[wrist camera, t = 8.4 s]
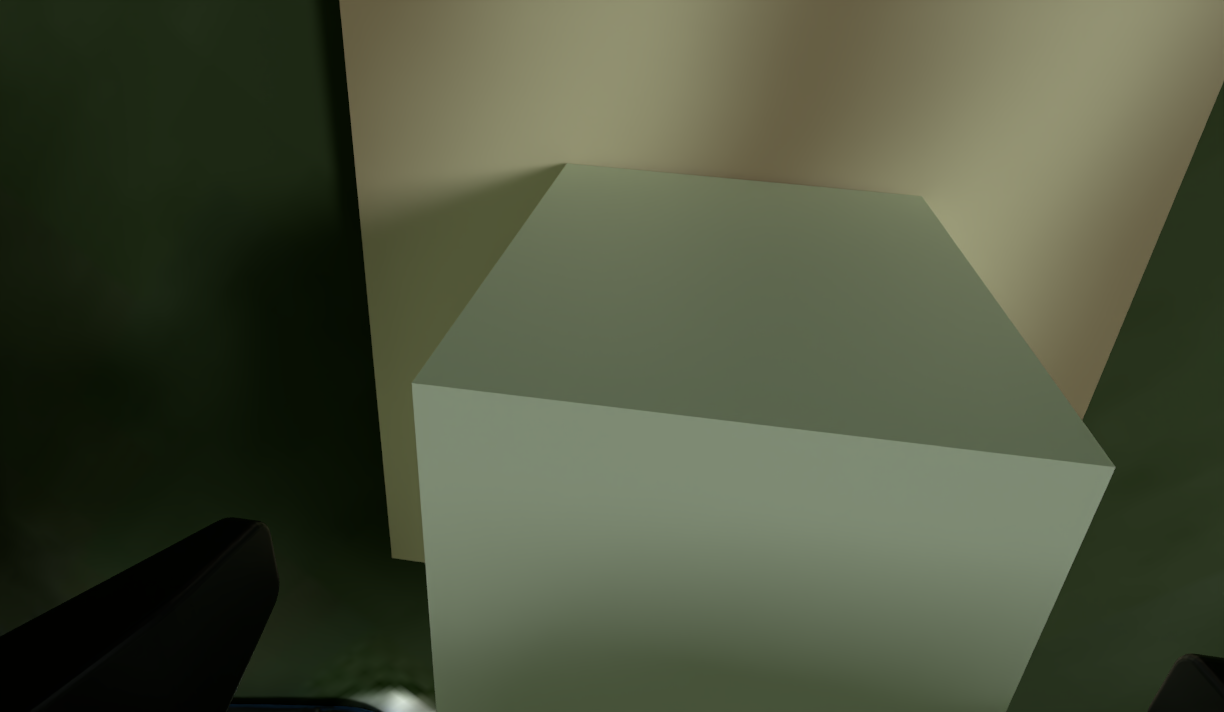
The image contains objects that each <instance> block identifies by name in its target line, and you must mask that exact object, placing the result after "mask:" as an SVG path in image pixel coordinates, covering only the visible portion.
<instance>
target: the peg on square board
mask: <svg viewBox="0 0 1224 712" xmlns="http://www.w3.org/2000/svg"><path fill="white" fill-rule="evenodd" d="M339 1H340V12H341V22H342V33H343V44H344V54H345V65H346V75H347V86H348V97H349V107H350V118H351V128H352V139H353V149H354V160H355V171H356V181H357V192H358V202H359V213H360V224H361V234H362V245H363V255H364V266H365V277H366V287H367V298H368V308H369V319H370V330H371V340H372V351H373V361H374V372H375V382H376V393H377V404H378V414H379V425H380V435H381V446H382V457H383V467H384V478H385V488H386V499H387V510H388V520H389V531H390V541H391V552H392V558H397V559H403V560H410V561H417V562H424V563H425V552H424V539H423V526H422V513H421V500H420V486H419V473H418V460H417V447H416V434H415V421H414V407H413V394H412V382H413V380H414V379H415V378H416V376H417V375H418V373H419V372H420V371H421V369H422V368H423V366H424V365H425V363H426V362H427V361H428V359H429V358H430V356H431V355H432V354H433V352H434V351H435V349H436V348H437V346H438V345H439V344H440V342H441V341H442V339H443V338H444V337H445V335H446V334H447V332H448V331H449V329H450V328H451V327H452V325H453V324H454V322H455V321H456V320H457V318H458V317H459V315H460V314H461V313H462V311H463V310H464V308H465V307H466V305H467V304H468V303H469V301H470V300H471V298H472V297H473V296H474V294H475V293H476V291H477V290H478V288H479V287H480V286H481V284H482V283H483V281H484V280H485V279H486V277H487V276H488V274H489V273H490V271H491V270H492V269H493V267H494V266H495V264H496V263H497V262H498V260H499V259H500V257H501V256H502V254H503V253H504V252H505V250H506V249H507V247H508V246H509V245H510V243H511V242H512V240H513V239H514V237H515V236H516V235H517V233H518V232H519V230H520V229H521V228H522V226H523V225H524V223H525V222H526V221H527V219H528V218H529V216H530V215H531V213H532V212H533V211H534V209H535V208H536V206H537V205H538V204H539V202H540V201H541V199H542V198H543V196H544V195H545V194H546V192H547V191H548V189H549V188H550V187H551V185H552V184H553V182H554V181H555V179H556V178H557V177H558V175H559V174H560V172H561V171H562V170H563V168H564V167H565V165H566V164H567V163H569V164H580V165H590V166H601V167H612V168H623V169H634V170H644V171H655V172H666V173H677V174H688V175H699V176H709V177H720V178H731V179H742V180H753V181H763V182H774V183H785V184H796V185H807V186H817V187H828V188H839V189H850V190H861V191H872V192H882V193H893V194H904V195H915V196H922V197H923V199H924V200H925V201H926V203H927V204H928V206H929V207H930V208H931V210H932V211H933V213H934V214H935V215H936V217H937V218H938V220H939V221H940V222H941V224H942V225H943V227H944V228H945V229H946V231H947V232H948V234H949V235H950V236H951V238H952V239H953V241H954V242H955V243H956V245H957V246H958V248H959V249H960V250H961V252H962V253H963V255H964V256H965V257H966V259H967V260H968V262H969V263H970V264H971V266H972V267H973V269H974V270H975V271H976V273H977V274H978V276H979V277H980V278H981V280H982V281H983V283H984V284H985V285H986V287H987V288H988V290H989V291H990V292H991V294H992V295H993V297H994V298H995V299H996V301H997V302H998V304H999V305H1000V306H1001V308H1002V309H1003V311H1004V312H1005V313H1006V315H1007V316H1008V318H1009V319H1010V320H1011V322H1012V323H1013V325H1014V326H1015V327H1016V329H1017V330H1018V332H1019V333H1020V334H1021V336H1022V337H1023V339H1024V340H1025V341H1026V343H1027V344H1028V346H1029V347H1030V348H1031V350H1032V351H1033V353H1034V354H1035V355H1036V357H1037V358H1038V360H1039V361H1040V362H1041V364H1042V365H1043V367H1044V368H1045V369H1046V371H1047V372H1048V374H1049V375H1050V376H1051V378H1052V379H1053V381H1054V382H1055V383H1056V385H1057V386H1058V388H1059V389H1060V390H1061V392H1062V393H1063V395H1064V396H1065V397H1066V399H1067V400H1068V402H1069V403H1070V404H1071V406H1072V407H1073V409H1074V410H1075V411H1076V413H1077V414H1078V416H1079V417H1080V418H1081V420H1082V419H1083V417H1084V415H1085V412H1086V410H1087V407H1088V405H1089V403H1090V400H1091V398H1092V395H1093V393H1094V391H1095V388H1096V386H1097V383H1098V381H1099V379H1100V376H1101V374H1102V371H1103V369H1104V367H1105V364H1106V362H1107V359H1108V357H1109V355H1110V352H1111V350H1112V347H1113V345H1114V343H1115V340H1116V338H1117V335H1118V333H1119V331H1120V328H1121V326H1122V323H1123V321H1124V319H1125V316H1126V314H1127V311H1128V309H1129V307H1130V304H1131V302H1132V299H1133V297H1134V295H1135V292H1136V290H1137V287H1138V285H1139V283H1140V280H1141V278H1142V275H1143V273H1144V271H1145V268H1146V266H1147V263H1148V261H1149V259H1150V256H1151V254H1152V251H1153V249H1154V247H1155V244H1156V242H1157V240H1158V237H1159V235H1160V232H1161V230H1162V228H1163V225H1164V223H1165V220H1166V218H1167V216H1168V213H1169V211H1170V208H1171V206H1172V204H1173V201H1174V199H1175V196H1176V194H1177V192H1178V189H1179V187H1180V184H1181V182H1182V180H1183V177H1184V175H1185V172H1186V170H1187V168H1188V165H1189V163H1190V160H1191V158H1192V156H1193V153H1194V151H1195V148H1196V146H1197V144H1198V141H1199V139H1200V136H1201V134H1202V132H1203V129H1204V127H1205V124H1206V122H1207V120H1208V117H1209V115H1210V112H1211V110H1212V108H1213V105H1214V103H1215V100H1216V98H1217V96H1218V93H1219V91H1220V88H1221V86H1222V84H1223V81H1224V0H339Z"/></svg>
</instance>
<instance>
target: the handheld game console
mask: <svg viewBox="0 0 1224 712" xmlns="http://www.w3.org/2000/svg"><path fill="white" fill-rule="evenodd" d="M227 712H373V711H370V710H366V709H362V708H358V707H348V706H311V705H272V704H230V706H229V708H228V710H227Z"/></svg>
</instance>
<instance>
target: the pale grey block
mask: <svg viewBox="0 0 1224 712" xmlns="http://www.w3.org/2000/svg"><path fill="white" fill-rule="evenodd" d="M412 394H413V407H414V421H415V434H416V447H417V460H418V473H419V486H420V500H421V513H422V526H423V539H424V552H425V566H426V579H427V592H428V605H429V618H430V632H431V645H432V658H433V671H434V684H435V698H436V711H437V712H1006V710H1007V708H1008V706H1009V704H1010V701H1011V699H1012V697H1013V695H1014V692H1015V690H1016V688H1017V686H1018V684H1019V681H1020V679H1021V677H1022V675H1023V672H1024V670H1025V668H1026V666H1027V663H1028V661H1029V659H1030V657H1031V655H1032V652H1033V650H1034V648H1035V646H1036V643H1037V641H1038V639H1039V637H1040V634H1041V632H1042V630H1043V628H1044V626H1045V623H1046V621H1047V619H1048V617H1049V614H1050V612H1051V610H1052V608H1053V605H1054V603H1055V601H1056V599H1057V597H1058V594H1059V592H1060V590H1061V588H1062V585H1063V583H1064V581H1065V579H1066V576H1067V574H1068V572H1069V570H1070V568H1071V565H1072V563H1073V561H1074V559H1075V556H1076V554H1077V552H1078V550H1079V547H1080V545H1081V543H1082V541H1083V539H1084V536H1085V534H1086V532H1087V530H1088V527H1089V525H1090V523H1091V521H1092V518H1093V516H1094V514H1095V512H1096V510H1097V507H1098V505H1099V503H1100V501H1101V498H1102V496H1103V494H1104V492H1105V489H1106V487H1107V485H1108V483H1109V481H1110V478H1111V476H1112V474H1113V472H1114V469H1115V466H1114V465H1113V463H1112V462H1111V460H1110V459H1109V458H1108V456H1107V455H1106V453H1105V452H1104V451H1103V449H1102V448H1101V446H1100V445H1099V444H1098V442H1097V441H1096V439H1095V438H1094V437H1093V435H1092V434H1091V432H1090V431H1089V430H1088V428H1087V427H1086V425H1085V424H1084V423H1083V421H1082V420H1081V418H1080V417H1079V416H1078V414H1077V413H1076V411H1075V410H1074V409H1073V407H1072V406H1071V404H1070V403H1069V402H1068V400H1067V399H1066V397H1065V396H1064V395H1063V393H1062V392H1061V390H1060V389H1059V388H1058V386H1057V385H1056V383H1055V382H1054V381H1053V379H1052V378H1051V376H1050V375H1049V374H1048V372H1047V371H1046V369H1045V368H1044V367H1043V365H1042V364H1041V362H1040V361H1039V360H1038V358H1037V357H1036V355H1035V354H1034V353H1033V351H1032V350H1031V348H1030V347H1029V346H1028V344H1027V343H1026V341H1025V340H1024V339H1023V337H1022V336H1021V334H1020V333H1019V332H1018V330H1017V329H1016V327H1015V326H1014V325H1013V323H1012V322H1011V320H1010V319H1009V318H1008V316H1007V315H1006V313H1005V312H1004V311H1003V309H1002V308H1001V306H1000V305H999V304H998V302H997V301H996V299H995V298H994V297H993V295H992V294H991V292H990V291H989V290H988V288H987V287H986V285H985V284H984V283H983V281H982V280H981V278H980V277H979V276H978V274H977V273H976V271H975V270H974V269H973V267H972V266H971V264H970V263H969V262H968V260H967V259H966V257H965V256H964V255H963V253H962V252H961V250H960V249H959V248H958V246H957V245H956V243H955V242H954V241H953V239H952V238H951V236H950V235H949V234H948V232H947V231H946V229H945V228H944V227H943V225H942V224H941V222H940V221H939V220H938V218H937V217H936V215H935V214H934V213H933V211H932V210H931V208H930V207H929V206H928V204H927V203H926V201H925V200H924V199H923V197H922V196H915V195H904V194H893V193H882V192H872V191H861V190H850V189H839V188H828V187H817V186H807V185H796V184H785V183H774V182H763V181H753V180H742V179H731V178H720V177H709V176H699V175H688V174H677V173H666V172H655V171H644V170H634V169H623V168H612V167H601V166H590V165H580V164H569V163H567V164H566V165H565V167H564V168H563V170H562V171H561V172H560V174H559V175H558V177H557V178H556V179H555V181H554V182H553V184H552V185H551V187H550V188H549V189H548V191H547V192H546V194H545V195H544V196H543V198H542V199H541V201H540V202H539V204H538V205H537V206H536V208H535V209H534V211H533V212H532V213H531V215H530V216H529V218H528V219H527V221H526V222H525V223H524V225H523V226H522V228H521V229H520V230H519V232H518V233H517V235H516V236H515V237H514V239H513V240H512V242H511V243H510V245H509V246H508V247H507V249H506V250H505V252H504V253H503V254H502V256H501V257H500V259H499V260H498V262H497V263H496V264H495V266H494V267H493V269H492V270H491V271H490V273H489V274H488V276H487V277H486V279H485V280H484V281H483V283H482V284H481V286H480V287H479V288H478V290H477V291H476V293H475V294H474V296H473V297H472V298H471V300H470V301H469V303H468V304H467V305H466V307H465V308H464V310H463V311H462V313H461V314H460V315H459V317H458V318H457V320H456V321H455V322H454V324H453V325H452V327H451V328H450V329H449V331H448V332H447V334H446V335H445V337H444V338H443V339H442V341H441V342H440V344H439V345H438V346H437V348H436V349H435V351H434V352H433V354H432V355H431V356H430V358H429V359H428V361H427V362H426V363H425V365H424V366H423V368H422V369H421V371H420V372H419V373H418V375H417V376H416V378H415V379H414V380H413V382H412Z"/></svg>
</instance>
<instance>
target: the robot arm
mask: <svg viewBox="0 0 1224 712" xmlns="http://www.w3.org/2000/svg"><path fill="white" fill-rule="evenodd" d="M278 592H279V575H278V570H277V564H276V559H275V554H274V549H273V543H272V538H271V533H270V530H269V528H268V527H267V525H266V524H265V523H262V522H261V521H255V520H248V519H241V518H234V517H230V518H224V519H221V520H219V521H217V522H215V523H213V524H211V525H209V526H207V527H206V528H204V529H202V530H200V531H198V532H196V533H194V534H192V535H190V536H189V537H187V538H185V539H183V540H181V541H179V542H177V543H175V544H174V545H172V546H170V547H168V548H166V549H164V550H162V551H160V552H158V553H157V554H155V555H153V556H151V557H149V558H147V559H145V560H143V561H142V562H140V563H138V564H136V565H134V566H132V567H130V568H128V569H126V570H125V571H123V572H121V573H119V574H117V575H115V576H113V577H111V578H110V579H108V580H106V581H104V582H102V583H100V584H98V585H96V586H94V587H93V588H91V589H89V590H87V591H85V592H83V593H81V594H79V595H78V596H76V597H74V598H72V599H70V600H68V601H66V602H64V603H62V604H61V605H59V606H57V607H55V608H53V609H51V610H49V611H47V612H46V613H44V614H42V615H40V616H38V617H36V618H34V619H32V620H30V621H29V622H27V623H25V624H23V625H21V626H19V627H17V628H15V629H14V630H12V631H10V632H8V633H6V634H4V635H2V636H0V712H227V710H228V708H229V706H230V703H231V701H232V699H233V697H234V694H235V692H236V690H237V688H238V685H239V683H240V681H241V679H242V677H243V674H244V672H245V670H246V668H247V665H248V663H249V661H250V659H251V657H252V654H253V652H254V650H255V648H256V645H257V643H258V641H259V639H260V637H261V634H262V632H263V630H264V628H265V625H266V623H267V621H268V619H269V616H270V614H271V612H272V610H273V608H274V605H275V603H276V600H277V596H278ZM1148 712H1224V658H1220V657H1213V656H1206V655H1200V654H1185V655H1184V656H1182V657H1180V658H1179V659H1177V661H1176V662H1175V663H1174V665H1173V667H1172V669H1171V670H1170V672H1169V674H1168V675H1167V677H1166V679H1165V681H1164V682H1163V684H1162V686H1161V687H1160V689H1159V691H1158V693H1157V694H1156V696H1155V698H1154V699H1153V701H1152V703H1151V705H1150V707H1149V709H1148Z"/></svg>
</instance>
